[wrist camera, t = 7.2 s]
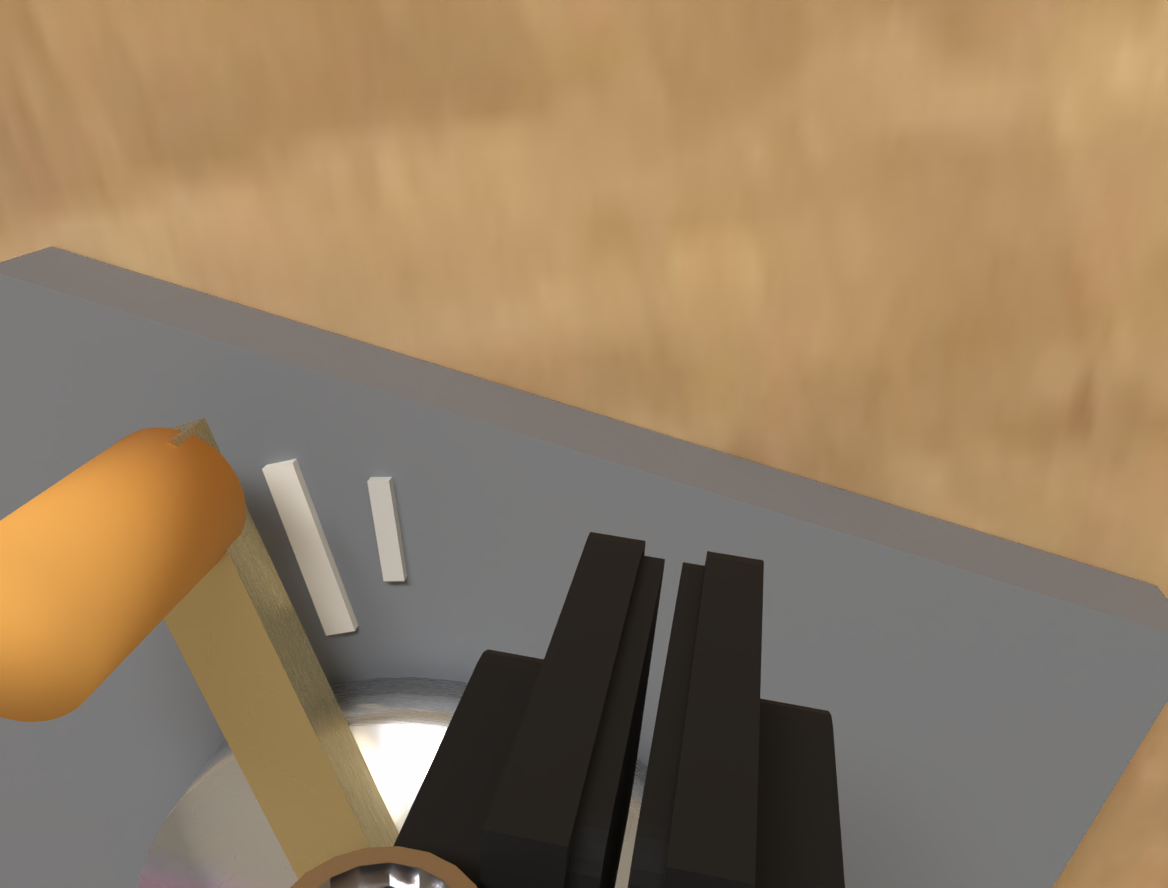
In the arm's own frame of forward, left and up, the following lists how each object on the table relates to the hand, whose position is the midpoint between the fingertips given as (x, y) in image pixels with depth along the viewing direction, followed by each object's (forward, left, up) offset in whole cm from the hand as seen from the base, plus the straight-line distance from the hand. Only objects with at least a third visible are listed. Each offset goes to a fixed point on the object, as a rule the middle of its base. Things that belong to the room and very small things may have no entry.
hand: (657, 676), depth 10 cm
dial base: (+1, +12, -10) cm, 16 cm away
